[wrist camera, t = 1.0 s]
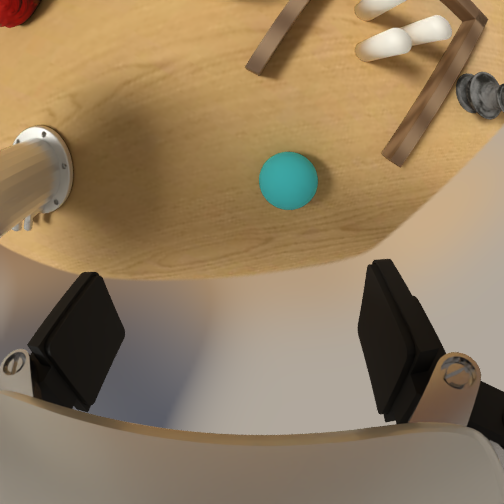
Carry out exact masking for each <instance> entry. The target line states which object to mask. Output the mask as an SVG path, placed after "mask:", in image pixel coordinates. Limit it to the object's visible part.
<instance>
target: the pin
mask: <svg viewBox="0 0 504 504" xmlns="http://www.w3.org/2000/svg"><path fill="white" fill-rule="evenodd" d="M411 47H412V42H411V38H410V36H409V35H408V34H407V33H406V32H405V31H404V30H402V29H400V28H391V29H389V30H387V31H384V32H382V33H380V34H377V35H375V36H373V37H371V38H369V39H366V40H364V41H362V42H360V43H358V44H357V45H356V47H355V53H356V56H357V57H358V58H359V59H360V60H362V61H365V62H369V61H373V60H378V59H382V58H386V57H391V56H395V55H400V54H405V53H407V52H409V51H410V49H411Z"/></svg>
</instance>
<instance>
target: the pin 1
mask: <svg viewBox="0 0 504 504" xmlns="http://www.w3.org/2000/svg"><path fill="white" fill-rule="evenodd" d="M404 1H406V0H361V1H360V2H359V3H358V4H357V5H356V6H355V8H354V11H355V14H356V15H357V17H358V18H360V19H361V20H364V21H370V20H372V19H374V18H376V17H377V16H379V15H381V14H383V13H384V12H386V11H388V10H390V9H391V8H393V7H395V6H397V5H399V4H401V3H403V2H404Z"/></svg>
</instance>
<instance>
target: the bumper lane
mask: <svg viewBox="0 0 504 504" xmlns="http://www.w3.org/2000/svg"><path fill="white" fill-rule="evenodd" d="M309 1H310V0H289V2H288V3H287V5H286V6H285V7H284V9H283V10H282V12H281V13H280V14H279V16H278V17H277V19H276V20H275V22H274V23H273V24H272V26H271V27H270V29H269V30H268V32H267V33H266V35H265V36H264V38H263V39H262V41H261V42H260V44H259V46H258V47H257V49H256V50H255V52H254V53H253V55H252V56H251V58H250V60H249V61H248V63H247V65H246V66H245V68H246V69H247V70H249V71H251V72H253V73H254V74H256V75H258V76H260V74H261V72H262V71H263V69H264V68H265V66H266V65H267V63H268V61H269V60H270V58H271V57H272V55H273V54H274V52H275V51H276V49H277V47H278V46H279V44H280V43H281V41H282V40H283V38H284V37H285V35H286V34H287V33H288V31H289V30H290V28H291V27H292V25H293V24H294V22H295V21H296V19H297V18H298V17H299V15H300V14H301V12H302V11H303V10H304V8H305V7H306V5H307V4H308V3H309ZM440 1H441V2H442V3H444V4H445V5H446V6H447V7H448V8H449V9H450V10H451V11H452V12H453V13H454V14H455V15H456V16H457V17H458V18H459V19H460V20H461V21H462V24H461V25H460V27H459V29H458V31H457V33H456V34H455V36H454V38H453V40H452V41H451V43H450V45H449V47H448V48H447V50H446V52H445V53H444V55H443V57H442V59H441V60H440V62H439V64H438V65H437V67H436V69H435V70H434V72H433V74H432V75H431V77H430V79H429V80H428V82H427V83H426V85H425V87H424V88H423V90H422V91H421V93H420V95H419V96H418V98H417V99H416V101H415V103H414V104H413V106H412V107H411V109H410V110H409V112H408V114H407V115H406V117H405V118H404V120H403V121H402V123H401V124H400V126H399V127H398V129H397V130H396V132H395V133H394V135H393V137H392V138H391V140H390V141H389V143H388V144H387V146H386V147H385V148H384V150H383V151H382V153H381V154H382V155H383V156H384V157H386V158H387V159H388V160H389V161H391V162H392V163H394V164H396V165H397V166H399V167H401V166H402V165H403V163H404V162H405V160H406V159H407V157H408V156H409V154H410V153H411V151H412V150H413V148H414V147H415V145H416V144H417V142H418V141H419V139H420V138H421V136H422V135H423V133H424V131H425V130H426V128H427V127H428V125H429V124H430V122H431V120H432V119H433V117H434V116H435V114H436V112H437V111H438V109H439V108H440V106H441V104H442V103H443V101H444V99H445V98H446V96H447V94H448V93H449V91H450V89H451V88H452V86H453V84H454V82H455V81H456V79H457V77H458V75H459V74H460V72H461V70H462V68H463V67H464V65H465V63H466V61H467V59H468V57H469V56H470V54H471V52H472V50H473V48H474V46H475V44H476V42H477V41H478V39H479V37H480V35H481V33H482V31H483V29H484V27H485V25H486V23H487V21H488V19H487V17H486V16H485V15H484V14H483V13H482V12H481V11H480V10H479V9H478V8H477V7H476V6H475V4H474V3H473V2H472V1H471V0H440Z"/></svg>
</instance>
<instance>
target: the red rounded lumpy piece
mask: <svg viewBox="0 0 504 504" xmlns="http://www.w3.org/2000/svg"><path fill="white" fill-rule="evenodd" d="M40 2H41V0H0V27H4V26H6V27H8V28H11V27H15V26H18V25H20V24H22V23H24V22H25V21H26V20H27V19H28V18H29V17H30V16H31V15H32V14H33V12H34V11H35V10H36V8H37V6H38V4H39V3H40Z"/></svg>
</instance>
